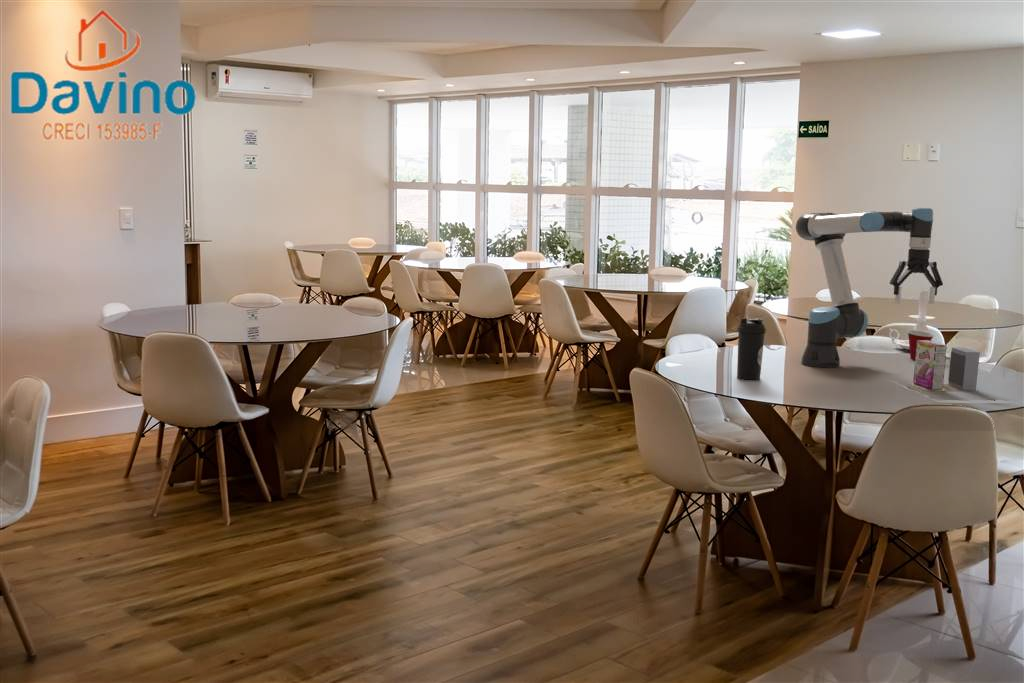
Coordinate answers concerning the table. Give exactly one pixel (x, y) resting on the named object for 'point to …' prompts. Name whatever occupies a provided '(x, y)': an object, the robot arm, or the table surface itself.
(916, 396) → the table surface
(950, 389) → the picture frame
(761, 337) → the water bottle
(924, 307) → the candlestick
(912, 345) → the plastic cup
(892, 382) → the table surface
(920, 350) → the candy bar box
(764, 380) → the table surface
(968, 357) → the grey upright block
